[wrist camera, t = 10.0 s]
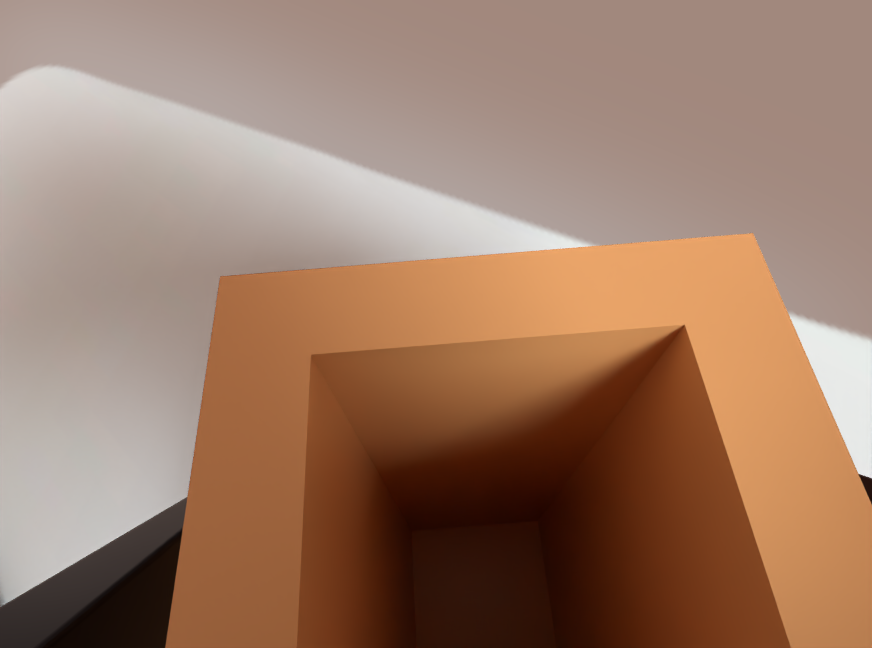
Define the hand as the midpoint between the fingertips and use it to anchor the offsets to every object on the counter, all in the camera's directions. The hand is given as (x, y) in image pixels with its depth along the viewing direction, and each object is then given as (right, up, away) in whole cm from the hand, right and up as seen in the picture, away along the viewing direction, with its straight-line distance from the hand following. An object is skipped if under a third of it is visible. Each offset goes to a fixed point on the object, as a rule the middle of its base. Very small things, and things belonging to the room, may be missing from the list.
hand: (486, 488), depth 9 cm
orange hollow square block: (0, -5, +6) cm, 8 cm away
